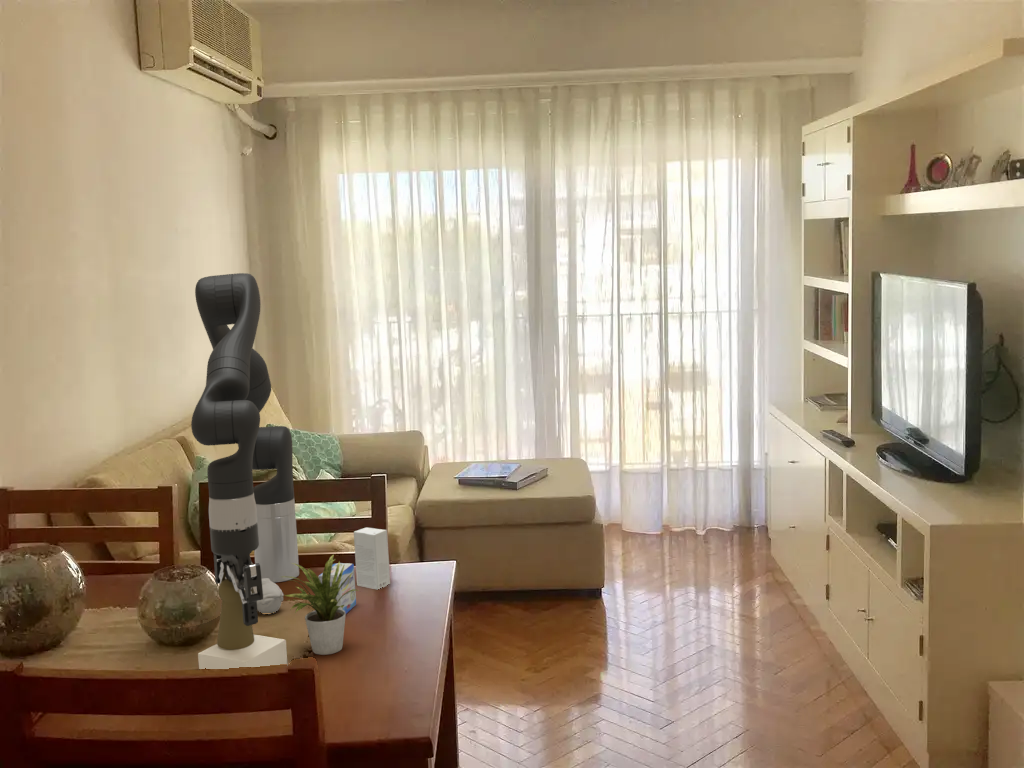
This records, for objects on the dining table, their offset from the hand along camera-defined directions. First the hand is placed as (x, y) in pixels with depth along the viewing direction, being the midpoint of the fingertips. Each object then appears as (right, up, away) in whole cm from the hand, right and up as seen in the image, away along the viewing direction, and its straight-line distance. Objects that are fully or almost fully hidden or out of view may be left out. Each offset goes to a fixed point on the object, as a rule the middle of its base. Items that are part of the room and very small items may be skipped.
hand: (240, 617), depth 157 cm
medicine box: (+11, -6, +29) cm, 32 cm away
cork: (-1, -5, +2) cm, 6 cm away
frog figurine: (-3, -7, +30) cm, 31 cm away
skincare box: (+16, -4, +44) cm, 47 cm away
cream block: (0, -10, +1) cm, 10 cm away
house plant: (+12, -8, +12) cm, 18 cm away
